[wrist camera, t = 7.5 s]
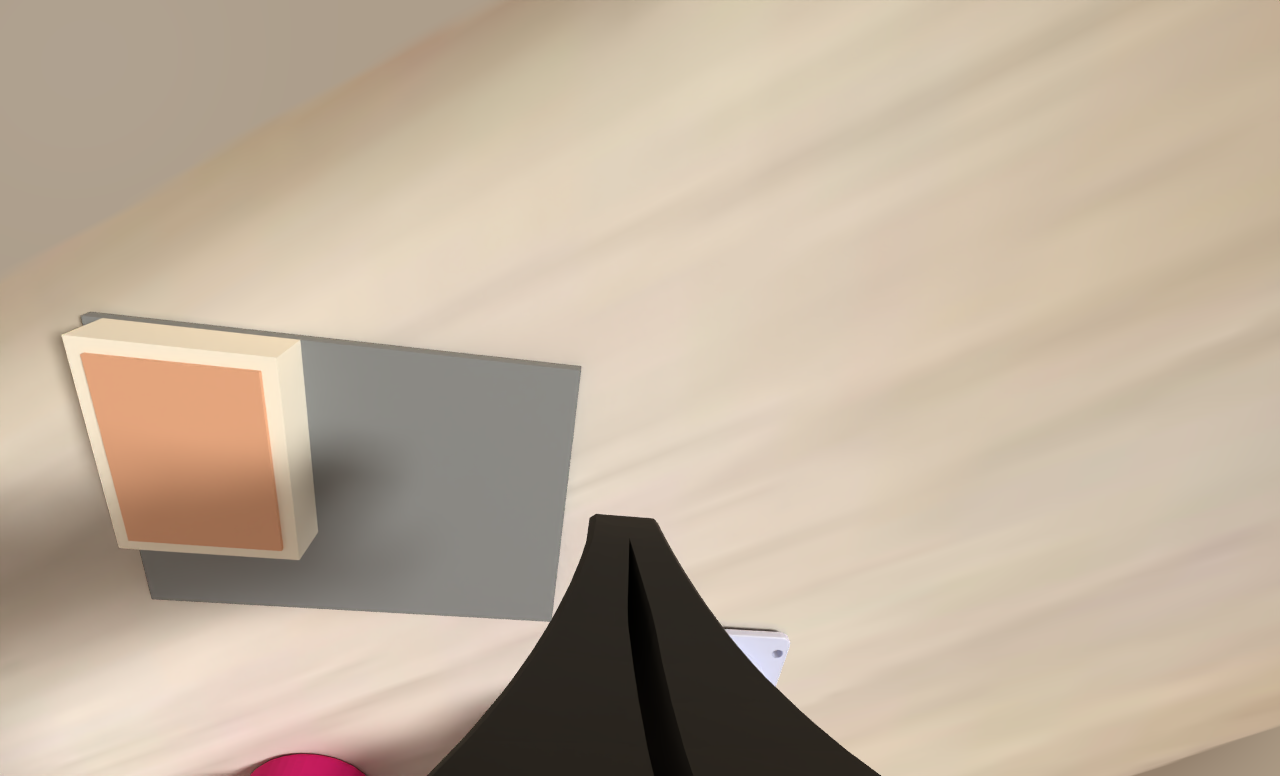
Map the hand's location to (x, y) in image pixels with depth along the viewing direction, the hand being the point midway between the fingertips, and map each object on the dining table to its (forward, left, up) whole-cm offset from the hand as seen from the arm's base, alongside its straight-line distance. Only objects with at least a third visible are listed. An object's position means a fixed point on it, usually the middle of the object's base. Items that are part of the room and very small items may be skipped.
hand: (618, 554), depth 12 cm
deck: (-4, +10, -9) cm, 14 cm away
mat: (-6, +9, -10) cm, 15 cm away
